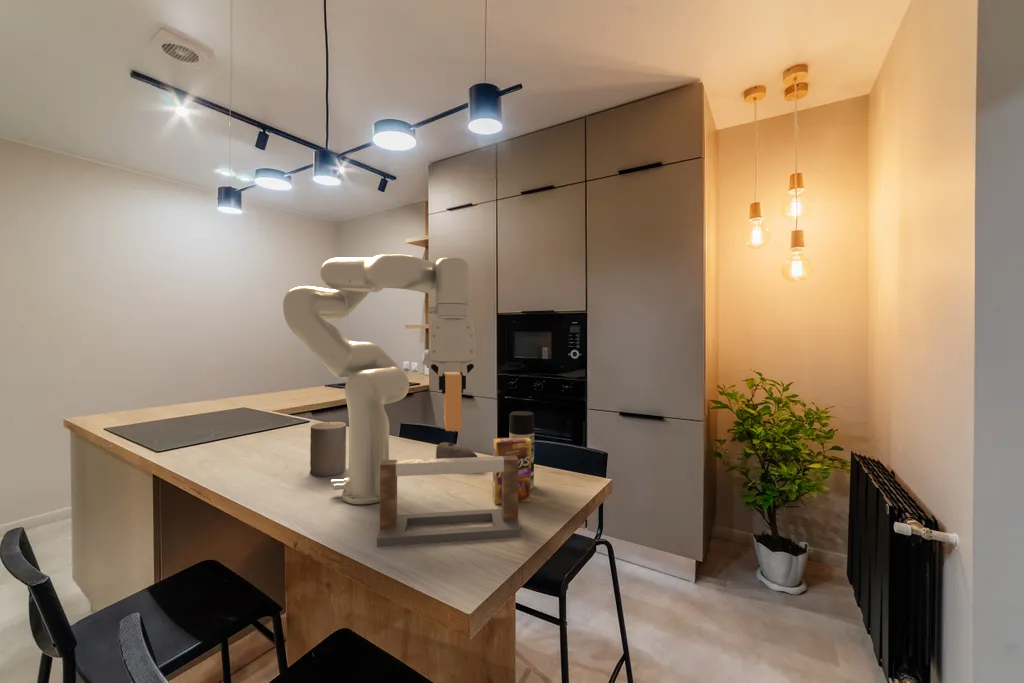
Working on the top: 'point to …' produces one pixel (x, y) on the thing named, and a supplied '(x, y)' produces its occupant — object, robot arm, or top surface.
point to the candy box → (523, 453)
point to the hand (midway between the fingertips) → (452, 392)
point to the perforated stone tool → (453, 451)
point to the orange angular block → (453, 401)
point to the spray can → (523, 432)
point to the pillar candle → (328, 448)
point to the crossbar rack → (396, 524)
